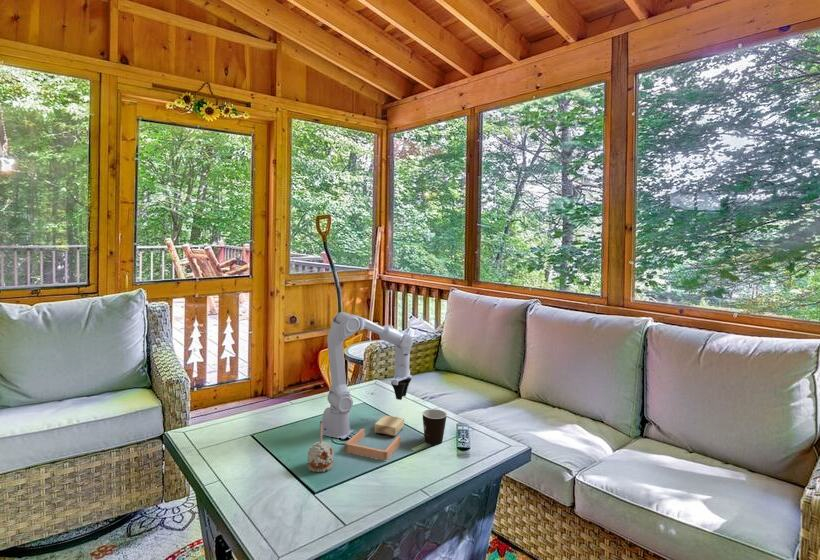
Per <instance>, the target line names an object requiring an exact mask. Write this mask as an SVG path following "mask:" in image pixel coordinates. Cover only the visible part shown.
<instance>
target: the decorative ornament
mask: <svg viewBox="0 0 820 560" xmlns="http://www.w3.org/2000/svg"><path fill="white" fill-rule="evenodd" d="M322 427H323V421H322V419H320V421H319V441H316V442H315V443H312V445H311V446H310V448H308V451H307V461H308V463H307V468H308V470H309V471H312V472H317V473H319V472H320V473H321V472H325V471H329V470H331V469H333V466H334V455H335V454H334V449H333V446H332V445H331V444H330V443H328V442H326V441H323V435H322Z"/></svg>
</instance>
